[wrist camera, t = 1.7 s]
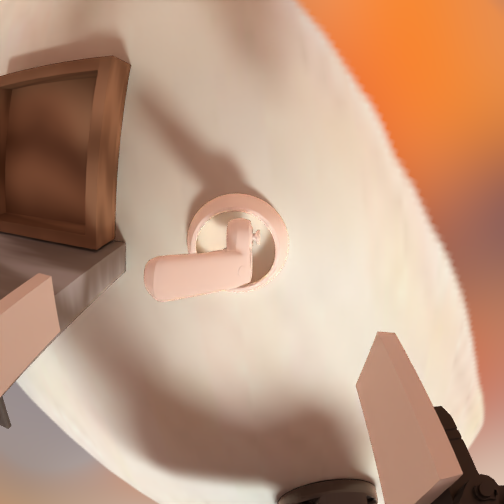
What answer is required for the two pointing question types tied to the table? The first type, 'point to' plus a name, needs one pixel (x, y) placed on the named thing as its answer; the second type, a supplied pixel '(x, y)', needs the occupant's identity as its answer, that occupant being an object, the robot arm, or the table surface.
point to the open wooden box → (61, 179)
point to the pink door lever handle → (218, 253)
